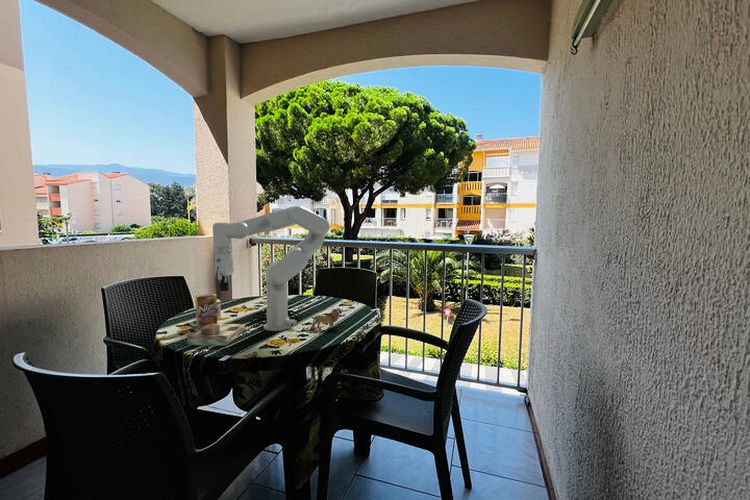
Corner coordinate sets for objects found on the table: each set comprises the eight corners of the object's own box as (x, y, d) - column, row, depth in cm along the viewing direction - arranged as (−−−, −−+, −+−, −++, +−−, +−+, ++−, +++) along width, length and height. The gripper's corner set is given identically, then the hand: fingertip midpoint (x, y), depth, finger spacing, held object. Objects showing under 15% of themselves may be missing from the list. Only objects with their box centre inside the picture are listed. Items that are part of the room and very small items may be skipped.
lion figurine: (338, 325, 177) (338, 307, 176) (341, 328, 172) (341, 309, 171) (308, 328, 171) (308, 310, 170) (311, 331, 166) (311, 312, 165)
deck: (245, 329, 168) (245, 321, 167) (226, 345, 147) (226, 336, 146) (211, 328, 168) (211, 320, 167) (187, 344, 147) (187, 335, 146)
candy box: (197, 328, 167) (196, 296, 166) (195, 326, 171) (194, 295, 170) (217, 325, 172) (216, 294, 171) (216, 323, 176) (215, 293, 175)
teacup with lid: (219, 320, 181) (218, 298, 180) (199, 321, 179) (198, 298, 178) (223, 314, 193) (223, 293, 191) (205, 315, 191) (204, 293, 189)
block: (219, 333, 154) (219, 324, 153) (212, 338, 148) (212, 328, 147) (208, 333, 154) (207, 324, 153) (201, 338, 148) (200, 328, 147)
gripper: (224, 252, 153) (226, 294, 154) (237, 248, 167) (239, 287, 169) (206, 252, 152) (208, 294, 154) (221, 248, 167) (223, 287, 169)
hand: (224, 290), depth 162 cm, fingers closed
